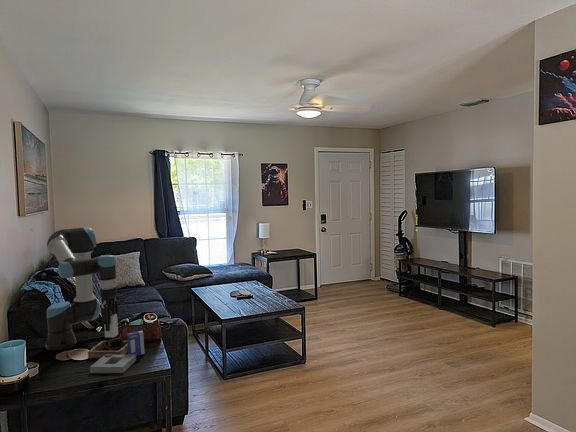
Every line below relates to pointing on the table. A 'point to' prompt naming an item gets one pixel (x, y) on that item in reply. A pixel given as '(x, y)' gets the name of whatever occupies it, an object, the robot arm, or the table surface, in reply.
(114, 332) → the plug
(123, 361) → the socket plate
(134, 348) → the walkman
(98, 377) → the table surface
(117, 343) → the pottery mug
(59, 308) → the robot arm
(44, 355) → the table surface
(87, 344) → the table surface
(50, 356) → the table surface
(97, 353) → the mug frame
